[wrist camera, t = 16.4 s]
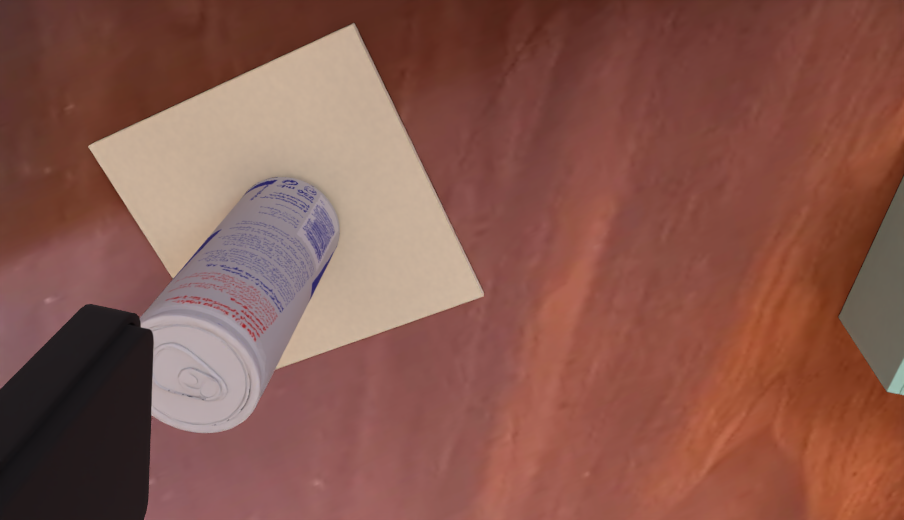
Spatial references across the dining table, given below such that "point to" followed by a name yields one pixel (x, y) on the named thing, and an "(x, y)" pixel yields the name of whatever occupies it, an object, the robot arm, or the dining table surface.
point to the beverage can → (238, 305)
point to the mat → (310, 160)
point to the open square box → (881, 301)
